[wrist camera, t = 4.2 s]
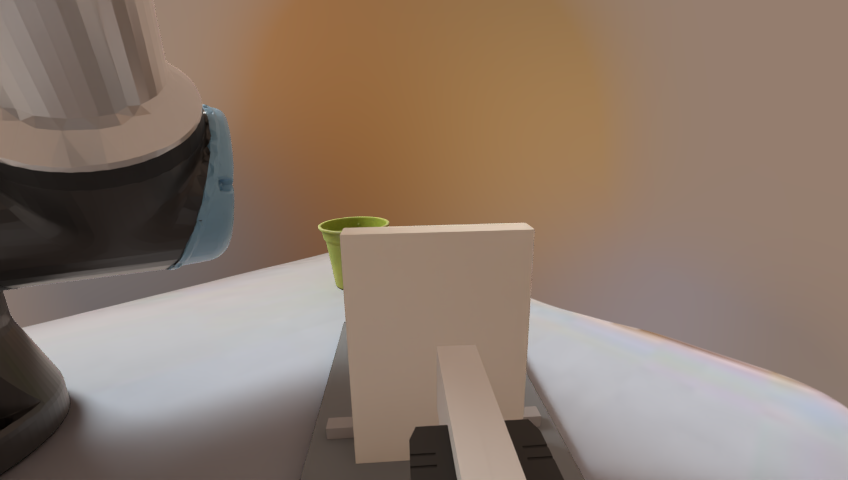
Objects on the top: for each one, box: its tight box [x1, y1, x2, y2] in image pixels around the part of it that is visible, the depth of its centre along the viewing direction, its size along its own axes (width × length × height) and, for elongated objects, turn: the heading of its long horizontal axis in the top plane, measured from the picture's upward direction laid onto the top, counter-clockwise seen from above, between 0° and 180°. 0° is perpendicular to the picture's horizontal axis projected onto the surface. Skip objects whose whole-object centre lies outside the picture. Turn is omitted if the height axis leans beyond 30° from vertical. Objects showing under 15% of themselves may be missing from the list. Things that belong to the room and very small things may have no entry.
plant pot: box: [318, 217, 389, 289], centre depth 54 cm, size 9×9×9 cm
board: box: [300, 322, 585, 480], centre depth 30 cm, size 24×16×2 cm, turn 4°
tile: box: [340, 223, 535, 464], centre depth 23 cm, size 2×10×14 cm, turn 94°
